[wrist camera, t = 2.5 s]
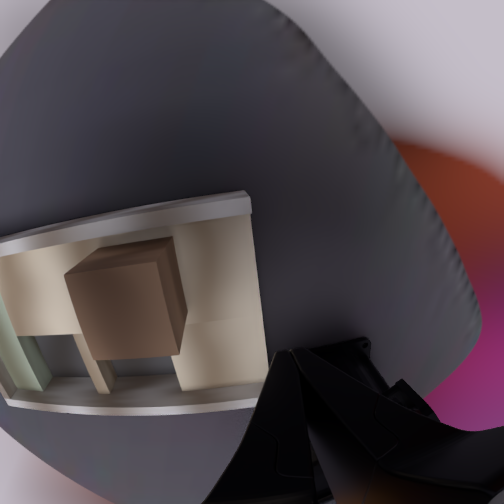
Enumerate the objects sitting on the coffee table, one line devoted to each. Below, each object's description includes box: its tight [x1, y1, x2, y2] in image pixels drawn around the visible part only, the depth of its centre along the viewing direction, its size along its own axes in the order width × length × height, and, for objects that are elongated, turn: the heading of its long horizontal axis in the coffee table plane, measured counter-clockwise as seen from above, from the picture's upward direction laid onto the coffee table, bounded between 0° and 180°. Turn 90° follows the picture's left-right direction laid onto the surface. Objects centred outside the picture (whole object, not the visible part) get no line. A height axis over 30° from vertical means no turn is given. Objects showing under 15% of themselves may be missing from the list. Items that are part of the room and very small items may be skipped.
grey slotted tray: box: [0, 190, 269, 416], centre depth 18 cm, size 22×13×4 cm, turn 96°
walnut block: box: [64, 236, 188, 360], centre depth 15 cm, size 4×4×4 cm
